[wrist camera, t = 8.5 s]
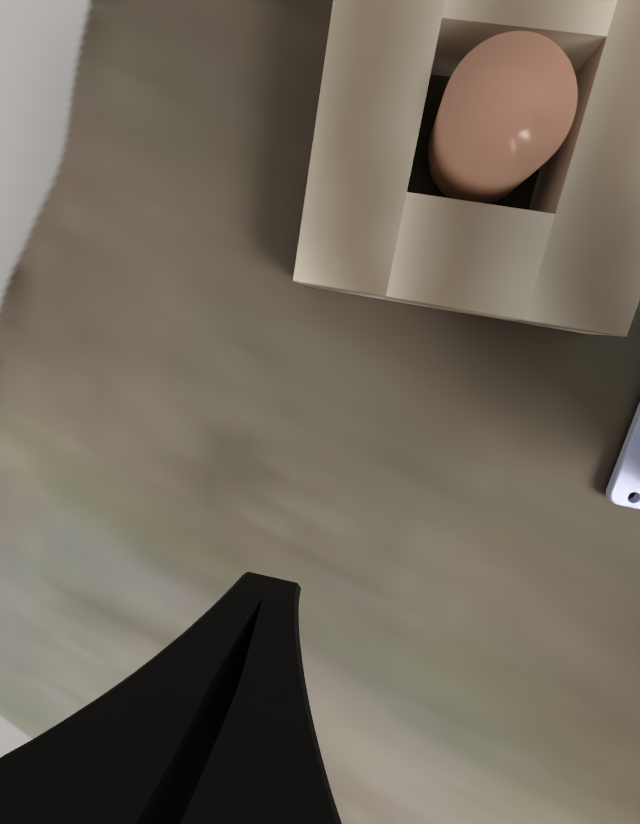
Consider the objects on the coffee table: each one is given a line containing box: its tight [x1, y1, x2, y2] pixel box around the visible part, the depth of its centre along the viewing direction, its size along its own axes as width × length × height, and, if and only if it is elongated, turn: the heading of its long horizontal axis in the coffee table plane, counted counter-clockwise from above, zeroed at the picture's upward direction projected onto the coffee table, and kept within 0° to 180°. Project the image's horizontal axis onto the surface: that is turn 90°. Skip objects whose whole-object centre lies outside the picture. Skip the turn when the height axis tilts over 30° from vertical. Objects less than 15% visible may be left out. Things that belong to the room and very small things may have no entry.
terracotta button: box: [427, 31, 578, 204], centre depth 14 cm, size 4×4×3 cm
